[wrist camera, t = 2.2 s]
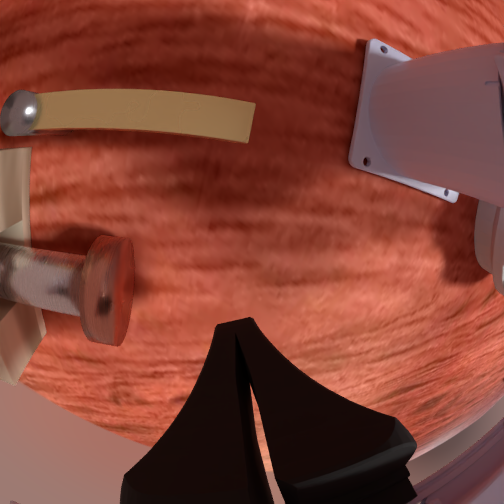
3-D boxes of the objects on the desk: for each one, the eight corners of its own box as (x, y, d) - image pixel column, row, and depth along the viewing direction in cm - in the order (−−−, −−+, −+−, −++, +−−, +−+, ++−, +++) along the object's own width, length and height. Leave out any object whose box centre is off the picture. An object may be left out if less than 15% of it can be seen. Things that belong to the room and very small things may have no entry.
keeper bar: (241, 112, 12) (259, 95, 8) (234, 148, 13) (249, 149, 8) (55, 102, 10) (4, 93, 6) (50, 135, 10) (-3, 137, 6)
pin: (136, 224, 13) (104, 265, 8) (134, 308, 14) (114, 368, 10) (8, 211, 11) (-44, 239, 6) (17, 286, 12) (-22, 329, 8)
